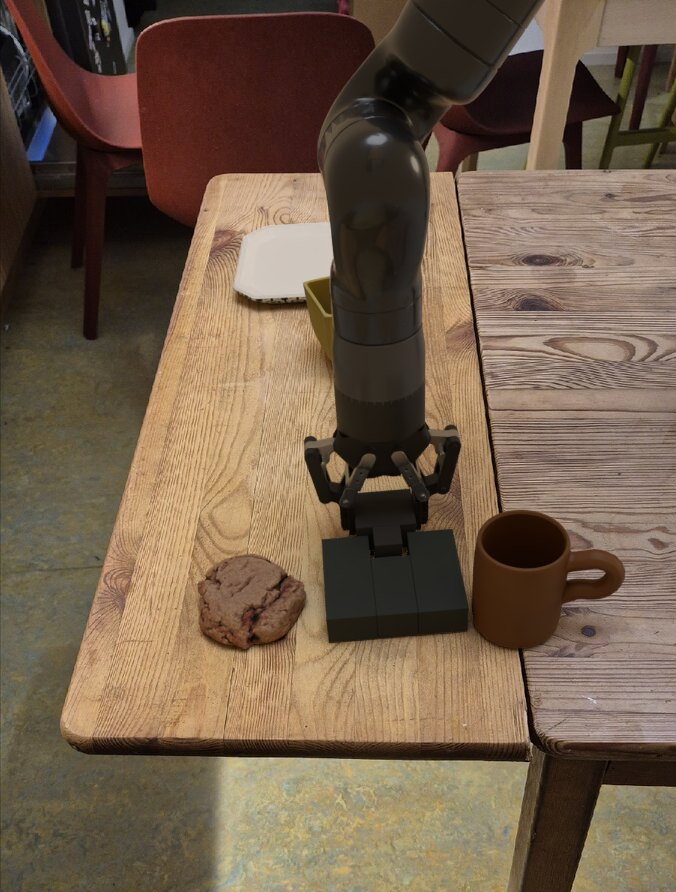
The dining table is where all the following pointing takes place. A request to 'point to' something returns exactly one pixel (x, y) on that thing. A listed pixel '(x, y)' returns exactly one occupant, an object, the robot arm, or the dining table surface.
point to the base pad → (393, 588)
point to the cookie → (248, 601)
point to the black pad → (385, 520)
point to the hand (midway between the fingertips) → (384, 526)
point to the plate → (283, 261)
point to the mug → (531, 577)
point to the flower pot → (320, 311)
